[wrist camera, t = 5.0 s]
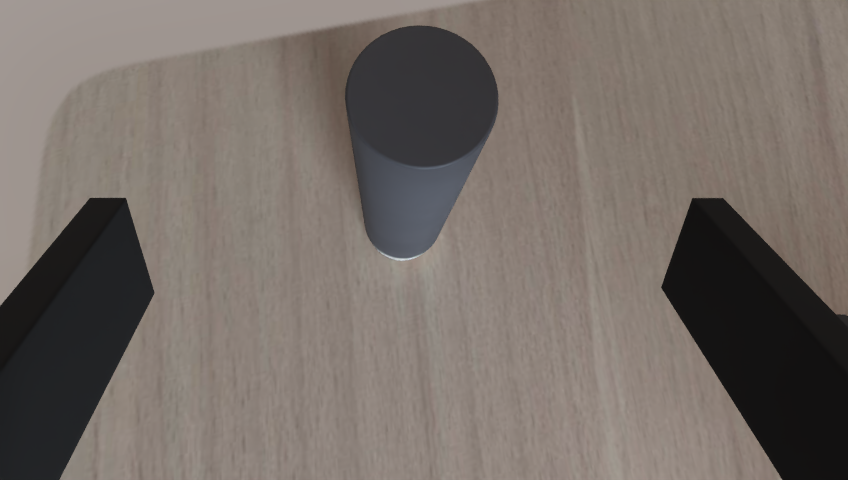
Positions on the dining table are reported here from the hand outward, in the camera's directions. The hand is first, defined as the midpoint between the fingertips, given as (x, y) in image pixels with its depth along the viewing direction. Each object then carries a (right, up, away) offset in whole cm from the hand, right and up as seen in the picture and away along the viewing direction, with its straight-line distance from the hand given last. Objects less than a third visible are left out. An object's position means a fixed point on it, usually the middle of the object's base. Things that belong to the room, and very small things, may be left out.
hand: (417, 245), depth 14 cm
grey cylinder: (-1, +1, +8) cm, 8 cm away
